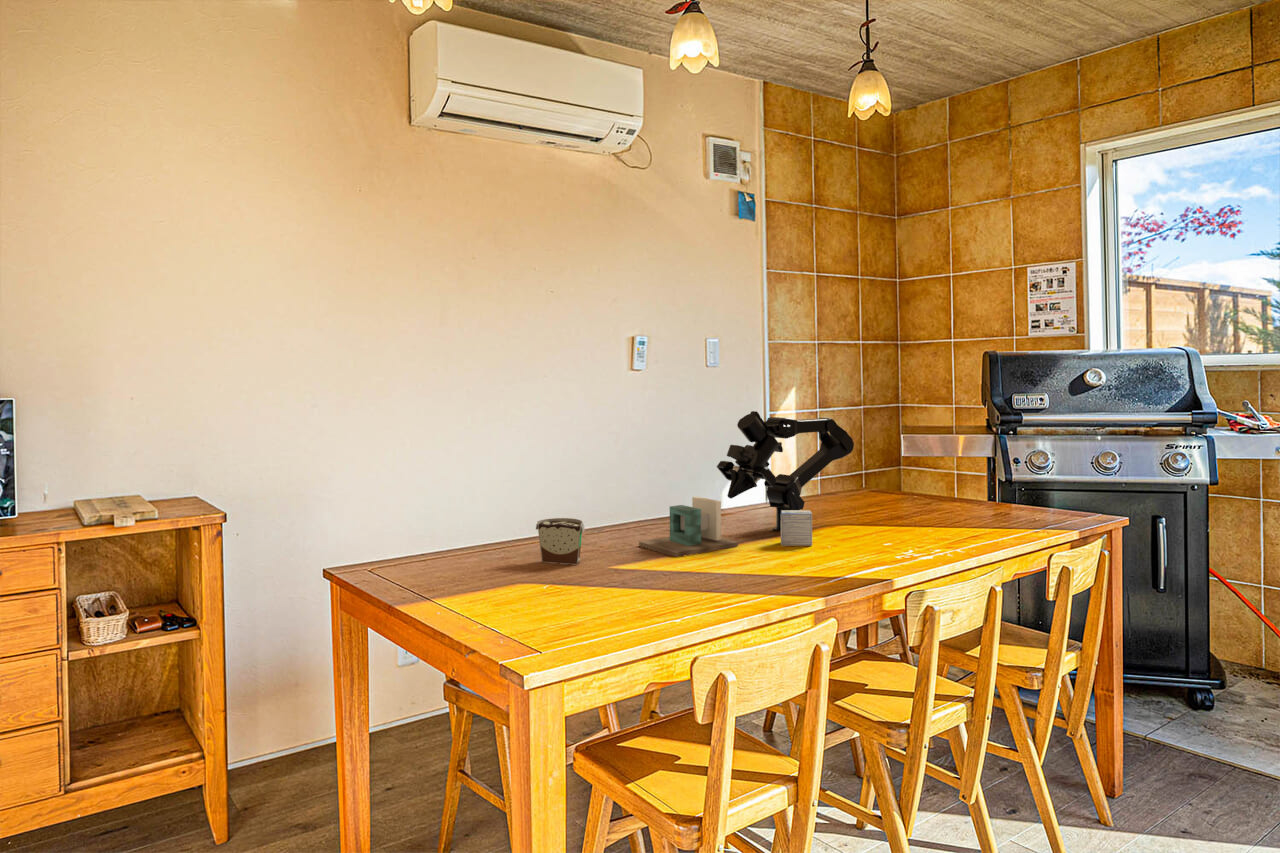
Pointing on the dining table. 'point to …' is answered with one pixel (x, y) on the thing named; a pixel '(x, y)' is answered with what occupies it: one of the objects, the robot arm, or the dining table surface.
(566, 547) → the food container
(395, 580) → the dining table surface
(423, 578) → the dining table surface
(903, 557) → the dining table surface
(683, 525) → the cream upright panel
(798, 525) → the medicine box
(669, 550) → the board
